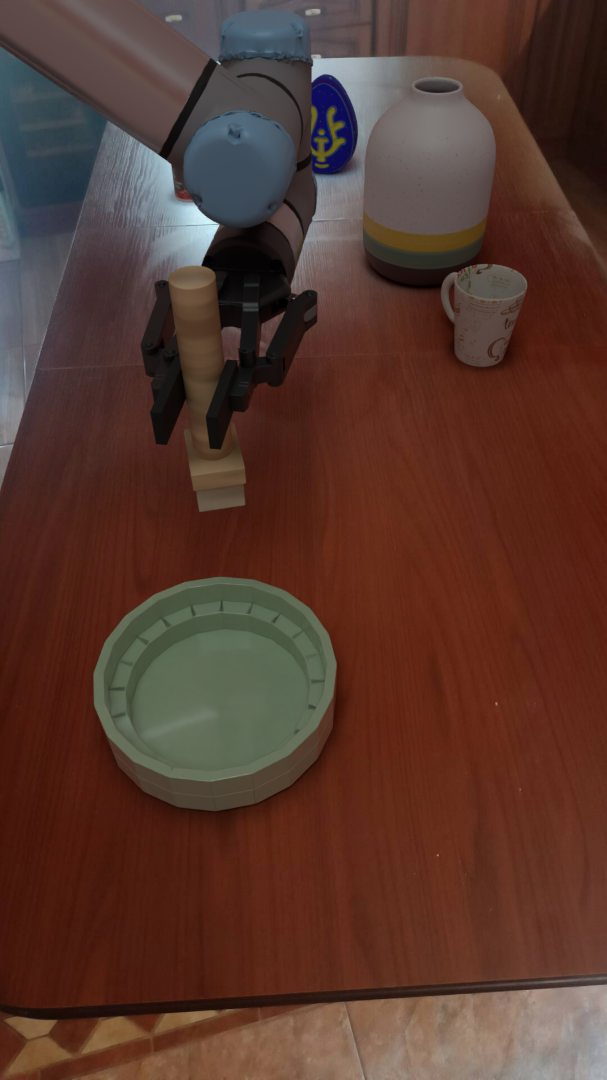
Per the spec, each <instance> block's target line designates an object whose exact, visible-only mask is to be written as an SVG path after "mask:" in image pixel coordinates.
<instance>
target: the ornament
mask: <svg viewBox="0 0 607 1080" xmlns="http://www.w3.org/2000/svg"><path fill="white" fill-rule="evenodd" d="M358 137H359V125H358V120H357V115H356V112H355V109H354V106H353V103H352V101H351V98H350V97H349V94H348V92H347V90H346V89H345V87H344V85H343V84H342V83H341V82H340V81H339V79H338V78H336V76H334V75H332V74H329V73H325V74H321V75H319V76H317V77H316V78H315V79H314V80H313V81H312V107H311V150H312V170H313V172H314V173H316V174H323V175H326V174H327V175H328V174H333V173H335V172H338V171H340V170H342V169H343V168H345V167H346V166H347V164H349V163H350V161H351V160H352V158H353V156H354V155H355V152H356V149H357V145H358Z"/></svg>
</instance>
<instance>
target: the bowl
mask: <svg viewBox="0 0 607 1080" xmlns="http://www.w3.org/2000/svg"><path fill="white" fill-rule="evenodd" d="M101 648H102V649H101V652H100V653H99V656H98V660H97V663H96V665H95V668H94V670H93V675H92V676H93V678H92V679H93V707H94V709H95V712H96V715H97V717H98V720H99V723H100V726H101V728H102V730H103V733H104V736H105V739H106V741H107V743H108V746H109V748H110V750H111V753H112V755H113V757H114V760H115V761H116V764H117V766H118V767H119V769H120V770H121V771H122V772H123V773H124V774H125V775H126V776H127V777H128V778H129V779H130V780H131V781H132V782H133V783H134V784H135V785H136V786H137V787H138V788H139V789H140V790H141V791H142V792H144V793H146V794H147V795H150V796H152V797H153V798H154V797H155V798H156V799H159V800H160V801H162V802H165V803H167V804H170V805H172V806H173V807H176V808H182V809H190V810H191V809H192V810H199V811H200V810H201V811H211V812H219V811H224V810H225V811H226V810H230V809H234V808H235V809H236V808H241V807H245V806H246V807H247V806H250V805H256V804H258V803H260V802H262V801H264V800H266V799H268V798H269V797H272V796H273V795H275V794H278V793H279V792H281V791H283V790H285V789H286V788H289V787H291V786H292V785H293V784H295V782H296V781H297V780H298V779H299V778H300V777H301V776H302V775H304V773H305V772H307V770H308V769H309V768H310V767H311V766H312V765H314V763H315V762H316V761H317V760H318V759H319V756H320V755H321V753H322V751H323V749H324V746H325V745H326V742H327V741H328V739H329V736H330V734H331V732H332V731H333V728H334V719H335V711H336V710H335V709H336V703H337V677H338V676H337V674H338V663H337V659H336V655H335V652H334V649H333V648H334V647H333V644H332V641H331V637H330V634H329V632H328V631H327V630H326V628H325V627H324V625H323V624H322V622H321V621H320V620H319V618H318V617H317V615H316V614H315V613H314V612H313V610H312V609H311V608H310V607H309V606H308V605H306V604H305V603H304V602H302V601H301V600H300V599H298V598H297V597H295V596H293V594H291V593H289V591H287V590H284V589H282V588H279V587H277V586H274V585H271V584H269V583H265V582H262V581H259V580H256V579H254V578H244V577H243V578H241V577H231V576H229V577H228V576H214V577H206V578H201V579H194V580H187V581H184V582H183V581H182V583H179V584H175V585H173V586H172V587H169V588H166V589H164V590H162V591H159V592H156V593H154V594H153V595H152V596H150V597H148V598H147V599H146V600H144V601H143V602H142V603H140V604H139V605H138V606H136V607H135V608H134V609H132V610H131V611H130V612H128V613H127V614H126V615H124V616H123V618H122V619H121V621H119V623H118V624H117V625H116V626H115V628H114V630H112V632H111V633H110V634H109V635H108V637H107V639H105V641H104V643H103V646H102V647H101Z"/></svg>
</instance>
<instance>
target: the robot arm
mask: <svg viewBox="0 0 607 1080" xmlns="http://www.w3.org/2000/svg"><path fill="white" fill-rule="evenodd" d="M218 31H219V55H218V57H217V59H218V62H217V61H216V60H215V59H214V58H212V57H211V56H210V55H209V54H208V53H206V52H205V51H204V50H202V49H201V48H200V47H198V46H197V45H196V44H194V43H193V42H192V41H191V40H189V39H188V38H187V37H185V36H184V35H183V34H181V33H180V32H179V31H177V30H176V29H175V28H173V27H172V26H171V25H170V24H169V23H167V22H166V21H164V20H163V19H162V18H160V17H159V16H158V15H156V14H155V13H154V12H152V11H151V10H150V9H148V8H147V7H145V6H144V5H143V4H142V3H140V2H139V1H138V0H0V48H1V49H3V50H4V51H6V52H7V53H9V54H10V55H12V56H13V57H15V58H16V59H18V60H19V61H20V62H22V63H24V64H25V65H26V66H28V67H29V68H31V69H32V70H34V71H35V72H36V73H38V74H40V75H41V76H43V77H44V78H46V79H47V80H48V81H50V82H51V83H53V84H54V85H55V86H57V87H59V88H60V89H62V90H63V91H64V92H66V93H67V94H69V95H71V96H72V97H73V98H75V99H76V100H78V101H79V102H80V103H82V104H83V105H85V106H86V107H88V108H89V109H90V110H92V111H94V112H95V113H97V114H98V115H99V116H101V117H102V118H103V119H105V120H107V121H108V122H109V123H111V124H112V125H114V126H116V127H117V128H118V129H120V130H122V132H124V133H126V134H127V135H128V136H130V137H132V138H134V139H135V140H136V141H137V142H139V143H140V144H142V145H143V146H144V147H145V148H147V149H149V150H151V151H152V152H153V153H155V154H156V155H158V156H159V157H160V158H162V159H163V160H165V161H166V162H167V163H169V164H170V166H171V165H173V166H174V167H175V168H177V169H178V170H180V171H181V172H183V173H184V181H185V186H186V189H187V191H188V193H189V195H190V197H191V199H192V201H193V202H194V203H193V204H194V205H195V206H196V208H197V209H198V211H199V212H200V213H201V214H203V216H205V217H206V218H207V219H208V220H210V221H212V222H214V223H216V224H217V225H218V227H217V229H216V231H215V233H214V234H213V237H212V239H211V242H210V243H209V246H208V247H207V250H206V252H205V254H204V256H203V259H202V261H201V265H200V266H203V267H207V268H209V269H211V270H212V271H213V272H214V273H215V276H216V285H217V295H218V305H219V314H220V324H221V332H222V331H223V329H224V328H236V329H239V330H240V338H239V347H238V348H237V353H238V359H229V358H228V359H226V361H225V362H224V363H225V366H224V369H223V371H222V374H221V376H220V379H219V382H218V385H217V387H216V390H215V393H214V395H213V398H212V401H211V403H210V406H209V409H208V411H207V414H206V423H207V431H208V439H209V447H210V449H218V450H221V447H222V444H223V441H224V438H225V436H226V433H227V430H228V427H229V424H230V422H231V421H232V417H233V414H234V412H235V413H245V412H246V411H247V410H248V409H249V408H250V404H251V401H252V397H253V394H254V391H255V389H257V388H258V385H260V384H264V383H265V384H267V385H268V386H269V387H272V388H277V387H280V386H283V384H284V382H285V380H286V378H287V375H288V373H289V371H290V368H291V366H292V363H293V362H294V359H295V356H296V354H297V353H298V350H299V348H300V345H301V343H302V341H303V338H304V336H305V334H306V333H307V332H308V331H309V330H310V329H311V328H313V327H314V326H315V325H317V323H318V313H319V311H318V309H319V308H318V307H319V306H318V305H319V304H318V303H319V302H318V292H317V291H316V290H315V289H306V290H303V291H302V292H301V293H300V294H298V293H293V292H292V283H293V281H294V277H295V272H296V269H297V267H298V263H299V261H300V257H301V254H302V251H303V247H304V243H305V240H306V238H307V235H308V231H309V229H310V226H311V224H312V223H313V218H314V216H315V215H316V213H317V205H318V191H319V190H318V187H319V186H318V180H317V177H316V174H315V172H314V171H313V170H312V150H311V107H312V82H313V81H312V80H313V79H312V77H313V73H312V72H313V67H314V59H313V57H312V43H311V42H312V41H311V40H312V39H311V29H310V25H309V23H308V22H307V20H306V19H305V18H304V17H303V16H301V15H299V14H298V13H295V12H292V11H287V10H283V9H265V8H263V9H262V8H261V9H253V10H252V9H250V10H245V11H244V10H243V11H240V12H237V13H233V14H231V15H230V16H228V17H227V18H225V19H224V20H223V21H222V22H221V24H220V28H219V30H218ZM153 285H154V286H153V287H154V292H155V298H156V299H155V301H154V305H153V308H152V311H151V314H150V316H149V319H148V322H147V325H146V328H145V331H144V333H143V336H142V339H141V342H140V351H141V356H142V361H143V367H144V372H145V375H146V376H147V377H149V378H152V380H151V382H150V387H151V393H152V399H153V404H152V406H151V409H150V411H149V415H150V418H151V425H152V429H153V435H154V440H155V444H156V445H159V446H160V445H161V446H168V444H169V442H170V439H171V437H172V434H173V431H174V429H175V427H176V424H177V422H178V419H179V417H180V414H181V412H182V410H183V408H184V405H185V402H186V396H185V390H184V383H183V376H182V370H181V363H180V356H179V350H178V343H177V336H176V333H175V332H176V329H175V323H174V316H173V309H172V303H171V296H170V289H169V283H168V280H166V279H161V280H157V281H155V282H154V284H153ZM281 314H283V315H282V318H281V320H280V322H279V324H278V326H277V328H276V330H275V332H274V335H273V336H272V339H271V341H270V343H269V345H268V347H267V348H266V351H265V355H264V356H260V352H261V351H260V350H261V341H262V327H263V324H265V323H267V322H269V321H271V320H273V319H274V318H276V317H278V316H281Z"/></svg>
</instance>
